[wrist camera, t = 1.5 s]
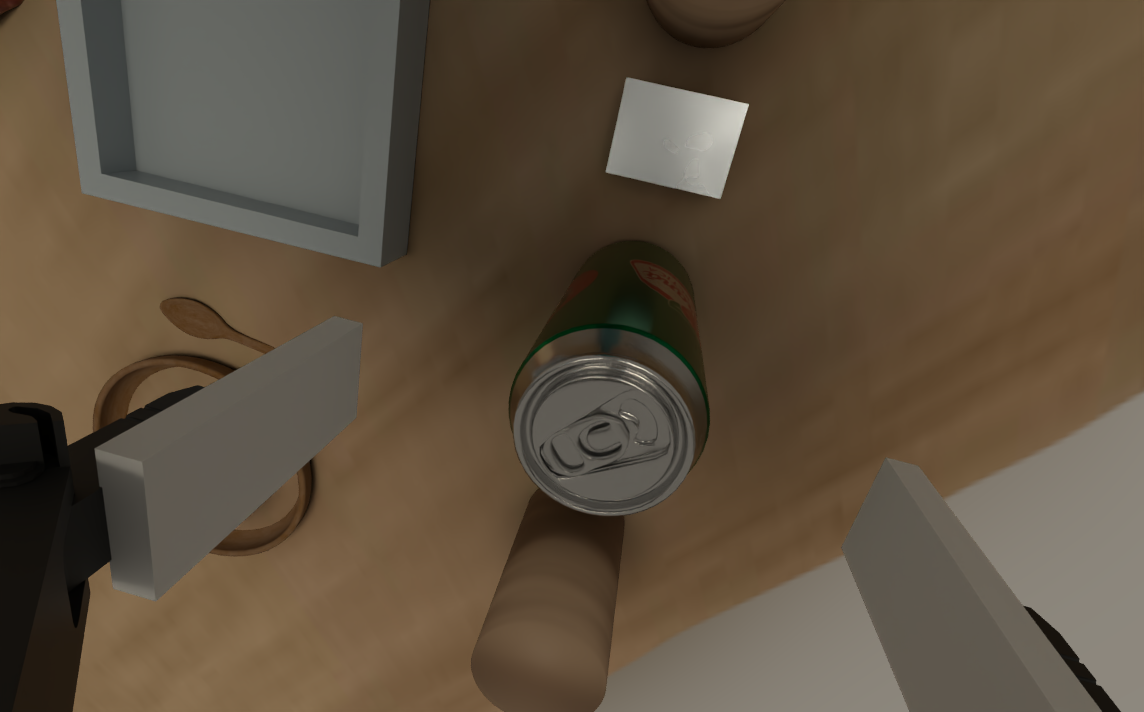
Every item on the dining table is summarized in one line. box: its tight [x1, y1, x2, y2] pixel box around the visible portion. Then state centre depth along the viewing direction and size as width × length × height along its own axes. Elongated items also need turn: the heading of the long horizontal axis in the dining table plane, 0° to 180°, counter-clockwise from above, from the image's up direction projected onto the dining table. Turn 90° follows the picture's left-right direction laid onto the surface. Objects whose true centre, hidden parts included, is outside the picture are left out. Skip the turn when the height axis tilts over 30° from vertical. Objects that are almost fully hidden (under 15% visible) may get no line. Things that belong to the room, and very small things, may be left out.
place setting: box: [93, 298, 312, 556], centre depth 29 cm, size 18×20×6 cm
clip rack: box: [606, 77, 749, 199], centre depth 23 cm, size 34×4×3 cm, turn 168°
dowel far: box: [471, 489, 624, 712], centre depth 25 cm, size 5×5×9 cm
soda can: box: [509, 241, 710, 516], centre depth 19 cm, size 5×5×12 cm
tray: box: [56, 0, 430, 267], centre depth 22 cm, size 13×13×2 cm
